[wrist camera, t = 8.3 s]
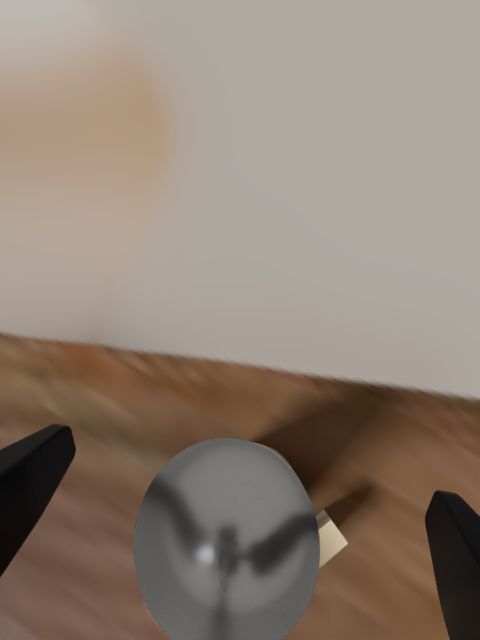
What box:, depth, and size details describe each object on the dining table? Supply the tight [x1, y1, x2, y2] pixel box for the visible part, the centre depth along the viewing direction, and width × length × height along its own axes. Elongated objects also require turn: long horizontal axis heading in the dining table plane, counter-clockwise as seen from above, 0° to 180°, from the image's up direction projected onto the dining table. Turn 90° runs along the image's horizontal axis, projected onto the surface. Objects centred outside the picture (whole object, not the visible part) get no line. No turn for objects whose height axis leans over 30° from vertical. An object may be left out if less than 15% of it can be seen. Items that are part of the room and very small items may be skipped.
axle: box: [134, 438, 320, 640], centre depth 14 cm, size 4×4×13 cm
